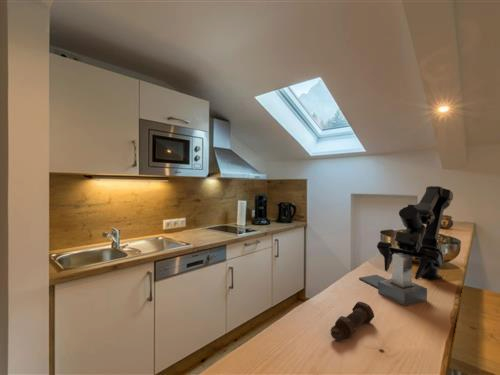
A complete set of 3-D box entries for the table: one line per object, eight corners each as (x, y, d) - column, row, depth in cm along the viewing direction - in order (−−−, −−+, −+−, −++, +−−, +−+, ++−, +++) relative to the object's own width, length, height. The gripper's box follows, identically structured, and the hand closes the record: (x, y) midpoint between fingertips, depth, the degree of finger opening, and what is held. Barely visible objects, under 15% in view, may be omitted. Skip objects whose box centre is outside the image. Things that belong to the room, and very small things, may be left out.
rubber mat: (376, 276, 102) (376, 274, 102) (396, 284, 94) (396, 283, 94) (358, 279, 99) (358, 277, 99) (377, 288, 91) (377, 286, 91)
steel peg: (400, 293, 87) (401, 253, 86) (411, 298, 83) (412, 256, 83) (391, 294, 86) (392, 254, 85) (402, 300, 82) (403, 257, 81)
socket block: (399, 288, 91) (399, 277, 91) (426, 300, 81) (427, 288, 81) (377, 292, 87) (378, 281, 87) (404, 306, 78) (404, 293, 78)
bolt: (332, 348, 62) (362, 323, 71) (349, 347, 58) (377, 321, 68) (322, 323, 64) (352, 302, 73) (337, 321, 60) (367, 299, 70)
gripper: (379, 219, 93) (364, 254, 87) (440, 226, 79) (428, 269, 72) (388, 237, 99) (374, 271, 92) (447, 247, 84) (436, 288, 77)
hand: (400, 274), depth 83 cm, fingers open, 9 cm apart
